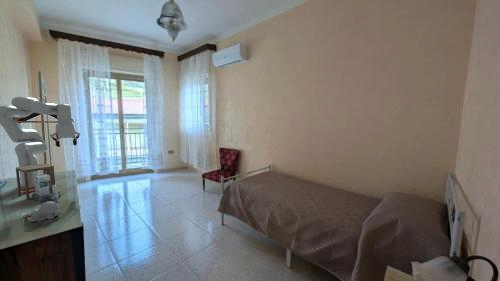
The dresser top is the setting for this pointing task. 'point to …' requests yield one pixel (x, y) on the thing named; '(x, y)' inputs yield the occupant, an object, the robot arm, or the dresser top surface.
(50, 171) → the wooden stool
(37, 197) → the gray frame with handle
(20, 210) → the dresser top surface
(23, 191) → the pit trap
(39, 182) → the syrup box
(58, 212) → the round bodied animal figurine
